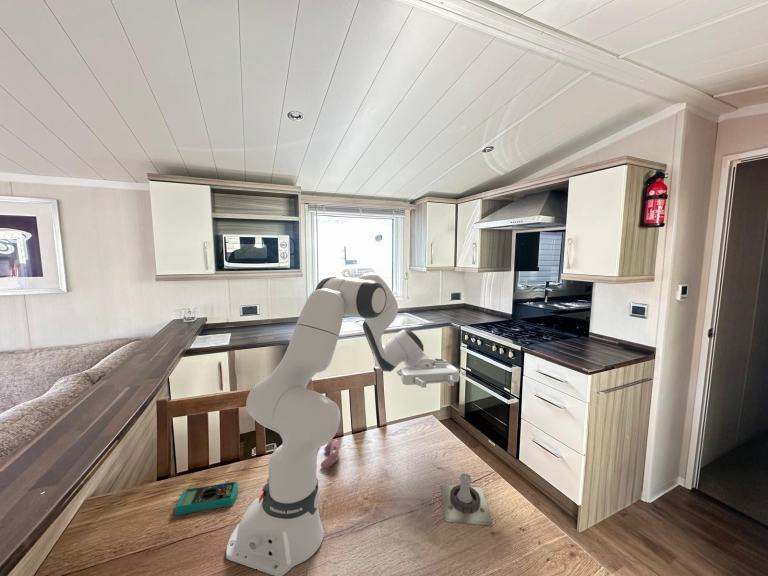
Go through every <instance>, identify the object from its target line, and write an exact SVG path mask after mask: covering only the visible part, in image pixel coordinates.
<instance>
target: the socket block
mask: <svg viewBox="0 0 768 576" xmlns="http://www.w3.org/2000/svg"><path fill="white" fill-rule="evenodd" d="M460 487H461V485H460V484H458V485H452V484H451V485H450V484H441V487H440V488H441V494H442V496H441V497H442V503H443V511H444V518H445V522H449V523H460V524H470V525H484V526H492V525H493V520H492V517H491V515H490V511H489V508H488V504H487V501H486V498H485V494H484V490H483V488H482V487H475V486H470V494H471V496H472V504H464V503H462V502H460V501H458V500H457V499H456V498H457V494H458V492H459V491H460Z"/></svg>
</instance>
